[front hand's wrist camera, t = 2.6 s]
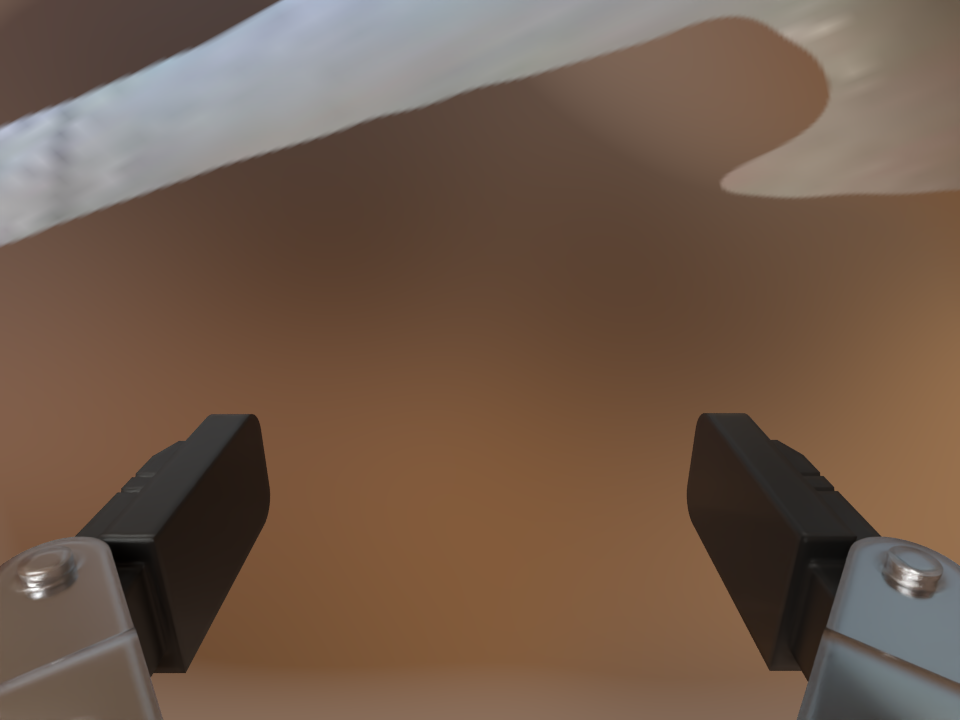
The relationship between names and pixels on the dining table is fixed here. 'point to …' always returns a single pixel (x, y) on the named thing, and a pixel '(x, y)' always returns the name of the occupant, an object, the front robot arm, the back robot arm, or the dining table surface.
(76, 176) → the dining table surface
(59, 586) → the front robot arm
